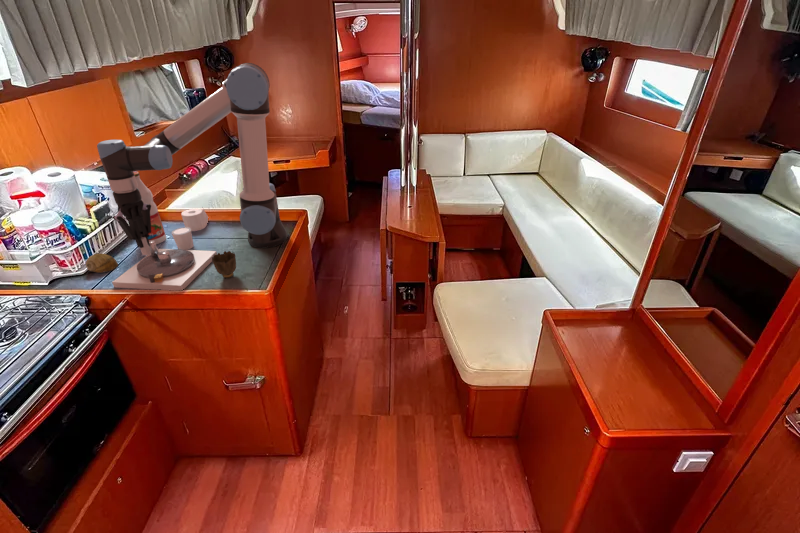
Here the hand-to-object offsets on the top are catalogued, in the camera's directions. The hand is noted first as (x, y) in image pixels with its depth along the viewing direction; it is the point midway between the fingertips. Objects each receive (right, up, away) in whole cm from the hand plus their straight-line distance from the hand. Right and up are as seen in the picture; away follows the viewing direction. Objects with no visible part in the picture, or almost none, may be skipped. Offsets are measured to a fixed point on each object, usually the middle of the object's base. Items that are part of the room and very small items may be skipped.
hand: (146, 254), depth 148 cm
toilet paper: (+2, +13, +35) cm, 37 cm away
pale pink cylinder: (+5, +3, +17) cm, 18 cm away
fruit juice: (-10, +6, +22) cm, 25 cm away
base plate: (+7, -6, +1) cm, 9 cm away
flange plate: (+7, -4, -1) cm, 8 cm away
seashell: (-17, -5, +3) cm, 18 cm away
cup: (+30, -8, -3) cm, 31 cm away
